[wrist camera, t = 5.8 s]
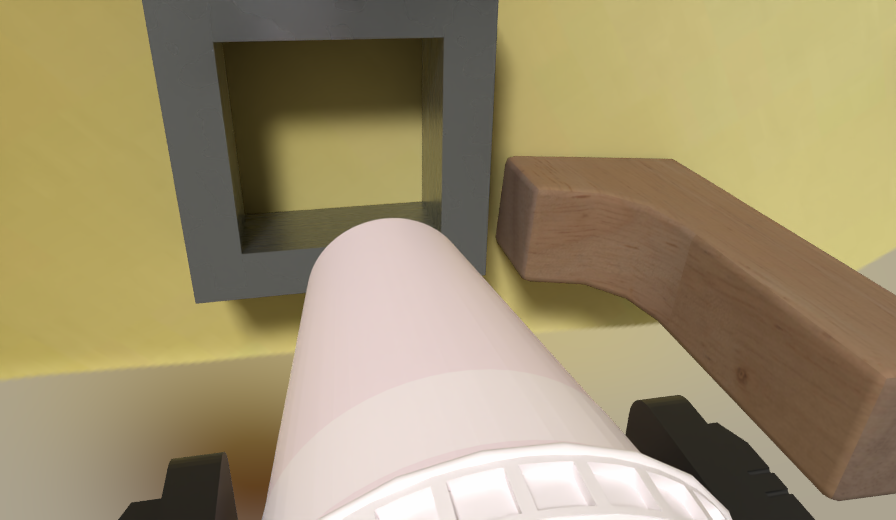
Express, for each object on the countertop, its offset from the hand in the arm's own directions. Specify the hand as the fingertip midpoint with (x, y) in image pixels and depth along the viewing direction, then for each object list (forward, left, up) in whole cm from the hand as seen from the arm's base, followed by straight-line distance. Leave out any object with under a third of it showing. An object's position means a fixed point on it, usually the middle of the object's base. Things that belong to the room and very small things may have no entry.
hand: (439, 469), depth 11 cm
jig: (0, 0, -21) cm, 21 cm away
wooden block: (-12, +5, -21) cm, 25 cm away
